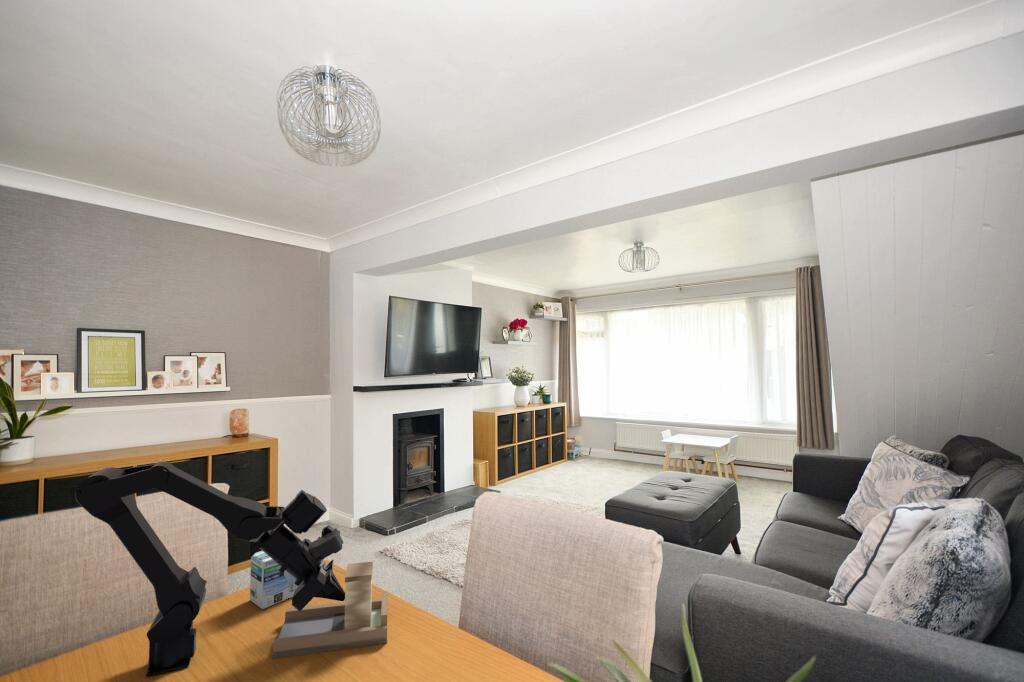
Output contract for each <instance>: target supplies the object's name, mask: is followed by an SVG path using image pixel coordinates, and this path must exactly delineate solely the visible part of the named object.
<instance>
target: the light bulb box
mask: <svg viewBox="0 0 1024 682" xmlns="http://www.w3.org/2000/svg"><path fill="white" fill-rule="evenodd" d="M279 568H280V565H279V564H278V563H276V562H275V561H274V560H273V559H272V558H270V557H269V556H268V555H267V554H266V553H265V552H263V551H262V550H261V551H257V552H256V553H255V554H254V555H253V556H252V557H250V585H249V601H251V602H252V603H253V604H254V605H255V606H257V607H258V608H260V609H261V610H264V609H267V608H269V607H271V606H273V605H276V604H279V603H281V601H282V602H284V601H287V600H288V598H289V599H292V597H293V595H294V592H295V589H296V588H297V587H298V586H297V585H296V584H294V583H295V580H296V579H295V578H294V577H293V576H292V575H291V574H289V573H288V572H287V571H286V570H285V571H284V572H283V573H281V572H280V571H279ZM251 587H252V588H251ZM286 599H287V600H286Z"/></svg>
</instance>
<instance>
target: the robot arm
mask: <svg viewBox="0 0 1024 682" xmlns="http://www.w3.org/2000/svg"><path fill="white" fill-rule="evenodd" d="M151 489H158V490H159V491H162V492H163V493H166V494H167V495H170V496H172V497H174V498H175V499H178V500H179V501H182V502H184V503H185V504H188V505H190V506H192V507H194V508H196V509H198V510H200V511H202V512H204V513H205V514H208V515H210V516H212V517H214V519H216V520H217V521H218V522H219V523H220V524H221V525H222V526H223V528H225V530H227V531H229V533H231V534H232V535H233V536H235V538H237V539H239V540H241V541H244V542H246V541H247V542H248V541H249V542H248V547H249V549H248V550H249V551H248V557H249V558H251V557H252V556H253V555H254V554H255V553H257V552H259V550H261V551H263V552H265V553H266V554H267V555H268V556H269V557H270V558H272V559H273V560H274V561H275V562H276V563H278V564H279V565H280V568H279V571H280V572H281V573H283V572H284V571H285V570H286V571H287V572H288V573H289V574H291V575H292V576H293V577H294V578H295V579H296V580H295V583H294V584H296V585H297V586H298V587H297V588H296V589H295V592H294V595H293V597H291V606H292V608H296V609H297V610H298V611H301V610H302V609H303V608H304V607H307V606H308V604H309V603H310V602H311V601H312V600H313V599H314V598H318V599H326V600H331V601H332V600H333V601H338V602H345V590H344V588H343V587H342V585H341V583H340V582H339V581H338V579H337V577H336V575H335V573H334V559H332V560H331V561H329V563H327V562H323V561H324V560H325V558H327V557H329V556H331V555H333V554H337V553H339V552H340V551H342V549H343V545H344V540H343V538H342V537H341V530H338V528H336V527H335V528H334V527H332V526H331V525H326V526H325V527H323V528H322V530H321V536H318V537H317V539H314V540H313V541H311V540H310V539H309V538H304V539H303V540H302V539H300V537H298V536H297V534H299V535H302V533H305V534H306V533H307V532H308V531H309V530H310V529H311V528H312V527H313V526H314V525H315V524H316V523H317V522H318V521H319V520H320V519H321V518H322V517H323V516H324V515H325V513H326V512H328V510H327V509H328V508H327V507H326V506H325V505H324V503H323V502H321V500H320V499H318V498H317V497H316V496H314V495H312V494H310V493H308V492H306V491H305V490H303V489H301V490H300V491H298V492H297V494H296V496H295V497H294V498H293V499H292V500H291V501H290V502H289V503H288V504H287V505H286V506H275V505H274V506H273V505H271V506H270V505H269V506H267V505H265V504H264V503H261V502H259V501H256V500H253V499H249V498H247V497H239V496H234V495H231V494H228V493H227V492H224V491H222V490H220V489H219V488H216V487H214V486H212V485H210V483H209V484H208V483H207V482H205V481H204V480H201V479H199V478H197V477H196V476H193V475H191V474H190V473H187V472H185V471H183V470H182V469H179V468H178V467H176V466H174V464H172V462H168V461H159V462H156V463H152V464H146V465H139V466H138V465H137V466H131V467H128V468H119V467H105V468H102V469H100V470H98V471H97V472H94V473H93V474H91V475H89V476H88V477H86V478H85V479H83V480H82V481H81V482H80V483H79V484H78V485H77V487H76V490H75V492H74V498H75V500H76V503H78V504H79V506H81V507H82V508H83V509H84V510H85V511H86V512H87V513H88V514H89V515H90V516H92V517H93V518H96V519H98V520H99V521H101V522H104V523H105V524H107V525H108V526H109V527H110V528H111V530H112V531H113V532H114V534H115V535H116V536H117V538H118V540H119V541H120V542H121V543H122V545H123V547H125V549H126V551H127V552H128V553H129V555H130V556H131V558H132V559H133V560H134V562H135V563H136V564H137V566H138V567H139V569H140V570H141V571H142V573H143V574H144V576H145V577H146V578H147V580H148V581H149V583H150V584H151V585H152V587H153V589H154V596H155V600H156V606H157V608H158V612H157V614H156V616H155V617H154V620H153V621H152V622H151V625H150V627H149V628H148V630H147V632H146V633H145V634H146V638H147V639H148V641H149V642H148V645H149V646H148V666H147V670H146V671H145V677H152V676H156V675H159V674H164V673H168V672H171V671H176V670H180V669H184V668H187V667H189V666H190V663H191V661H192V658H193V657H194V656H195V653H196V650H197V628H196V627H194V620H195V619H196V618H197V616H199V612H200V610H201V608H202V606H203V603H204V601H205V598H206V595H207V588H206V585H207V580H205V579H204V578H202V576H201V575H200V573H199V570H198V568H197V567H196V566H194V567H192V569H190V570H189V571H188V570H186V569H184V568H181V566H180V565H178V563H177V562H176V561H175V559H174V558H173V555H171V553H170V552H169V550H168V549H167V547H166V546H165V545H164V543H163V542H162V541H161V539H160V537H159V536H158V535H157V533H156V532H155V530H154V529H153V527H152V526H151V525H150V523H149V522H148V520H147V519H146V518H145V516H144V515H143V513H142V512H141V511H140V509H139V507H138V504H137V500H136V499H137V497H136V494H138V493H141V492H143V491H147V490H151Z"/></svg>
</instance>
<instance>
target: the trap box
mask: <svg viewBox="0 0 1024 682" xmlns="http://www.w3.org/2000/svg"><path fill="white" fill-rule="evenodd" d="M388 596H389V593H388V590H386V591H381V597H379V598H372V607H371V625H370V627H364V628H356V629H348V630H344V629H345V601H342V602H336V603H328V604H327V603H326V604H319V605H311V606H310V605H309V606H308V605H307V606H305V607H304V608H303V609H302V610H301V611H298V610H297V609H296V608H295V607H292V608H286V609H285V612H284V622H283V625H282V627H281V630H280V632H279V634H278V638H273V641H272V659H278V658H279V659H280V658H287V657H294V656H295V657H296V656H302V655H308V654H317V653H325V652H330V651H331V652H332V651H338V650H339V651H340V650H346V649H353V648H361V647H367V646H369V647H370V646H376V645H383V644H387V643H388V606H389V605H388V599H389V598H388Z"/></svg>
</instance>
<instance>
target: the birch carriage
mask: <svg viewBox="0 0 1024 682" xmlns="http://www.w3.org/2000/svg"><path fill="white" fill-rule="evenodd" d="M373 565H374V561H366V562H365V561H363V562H354V563H347V566H346V572H345V575H344V584H345V586H344V587H345V590H344V592H345V600H344V602H345V629H344V630H348V629H356V628H364V627H370V625H371V607H372V599H373V595H372V594H373V593H372V592H373V568H374V566H373Z"/></svg>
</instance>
